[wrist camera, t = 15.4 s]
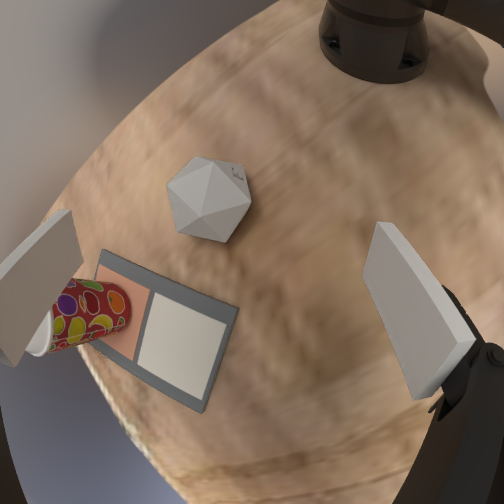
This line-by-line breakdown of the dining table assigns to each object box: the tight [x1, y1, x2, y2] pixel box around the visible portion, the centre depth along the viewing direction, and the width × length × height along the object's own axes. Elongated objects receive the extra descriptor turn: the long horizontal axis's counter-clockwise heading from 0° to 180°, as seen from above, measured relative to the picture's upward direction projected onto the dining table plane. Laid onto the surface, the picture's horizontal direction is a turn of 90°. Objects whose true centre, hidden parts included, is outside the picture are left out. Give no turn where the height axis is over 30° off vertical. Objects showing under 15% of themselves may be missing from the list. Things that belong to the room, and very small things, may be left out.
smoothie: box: [25, 278, 130, 356], centre depth 25 cm, size 8×8×20 cm
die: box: [167, 156, 251, 243], centre depth 29 cm, size 8×9×10 cm
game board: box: [88, 249, 239, 414], centre depth 34 cm, size 14×21×1 cm, turn 71°
